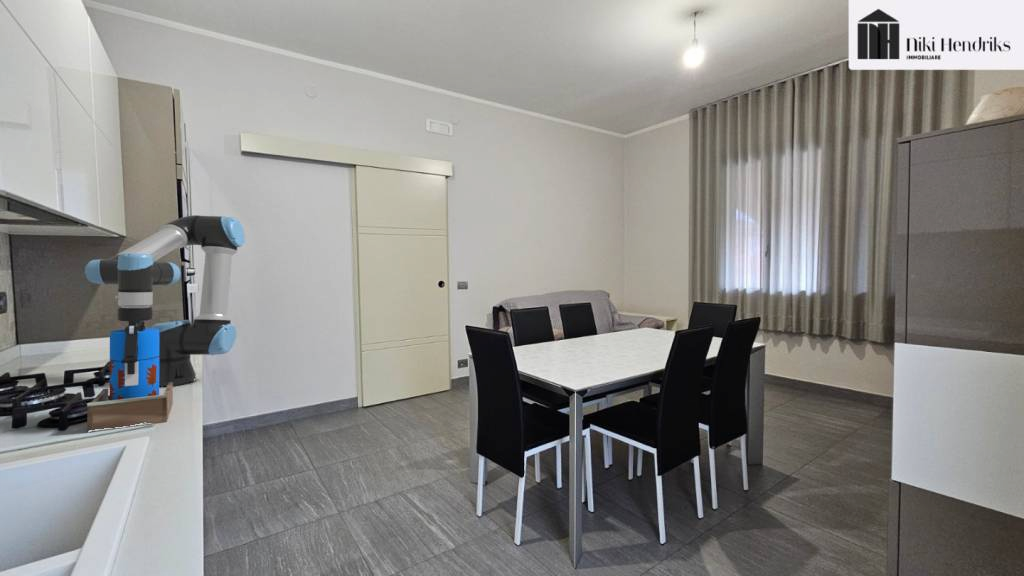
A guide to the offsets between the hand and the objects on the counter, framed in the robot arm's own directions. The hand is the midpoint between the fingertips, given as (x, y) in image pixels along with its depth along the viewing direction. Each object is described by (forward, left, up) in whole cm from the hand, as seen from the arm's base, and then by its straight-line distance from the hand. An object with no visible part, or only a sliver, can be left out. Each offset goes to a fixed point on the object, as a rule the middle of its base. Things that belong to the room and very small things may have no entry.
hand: (135, 380), depth 123 cm
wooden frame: (+1, +1, -10) cm, 10 cm away
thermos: (0, 0, -11) cm, 11 cm away
